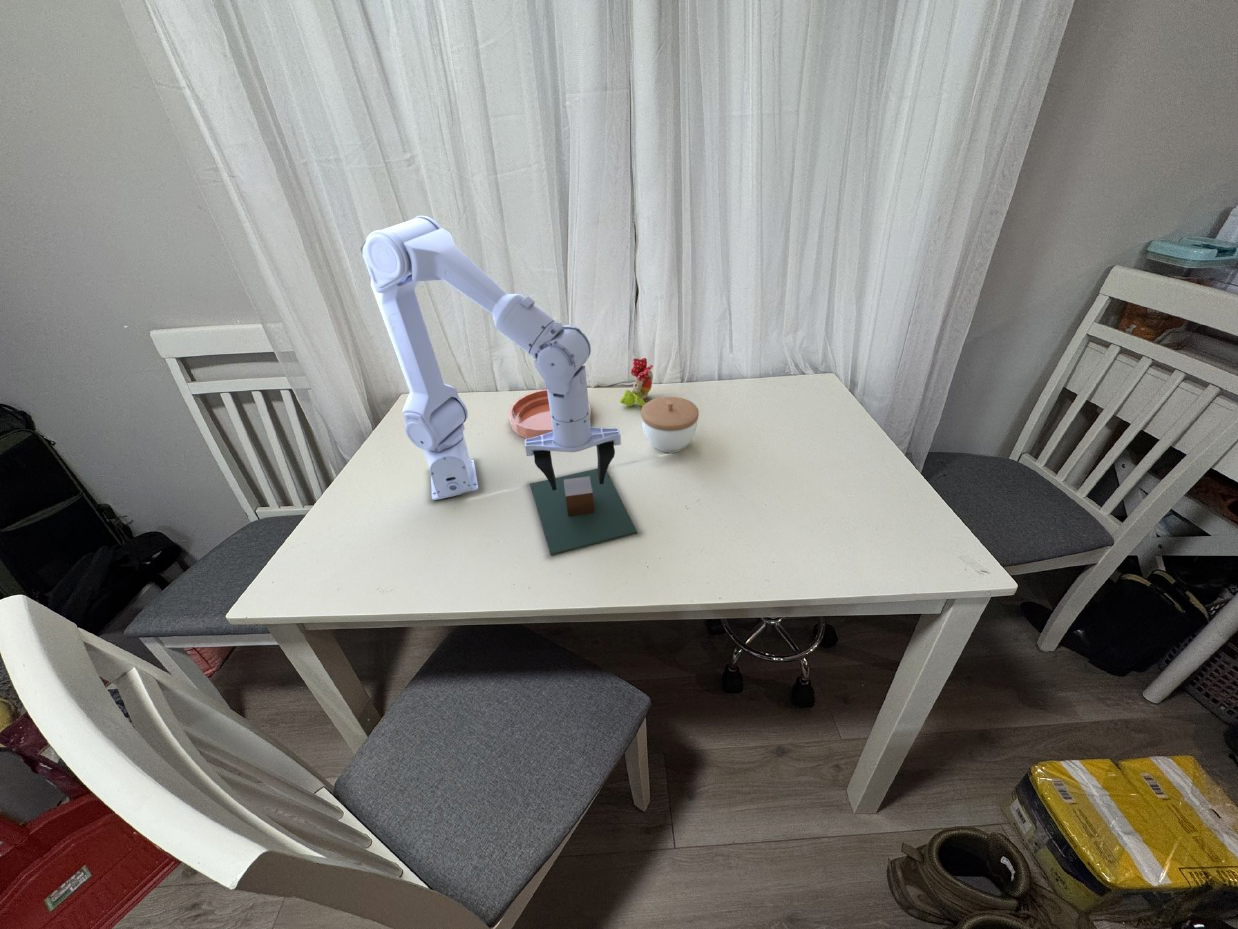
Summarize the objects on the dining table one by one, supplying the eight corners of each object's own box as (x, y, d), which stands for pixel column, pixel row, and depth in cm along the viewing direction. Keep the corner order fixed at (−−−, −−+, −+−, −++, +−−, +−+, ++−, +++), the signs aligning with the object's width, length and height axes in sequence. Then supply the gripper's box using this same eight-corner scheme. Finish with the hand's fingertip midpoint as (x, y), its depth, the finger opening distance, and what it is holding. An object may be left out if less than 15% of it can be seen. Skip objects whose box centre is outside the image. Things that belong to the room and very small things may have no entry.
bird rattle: (630, 403, 118) (615, 407, 110) (638, 355, 115) (622, 355, 107) (656, 409, 116) (642, 413, 108) (664, 359, 113) (650, 360, 105)
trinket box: (689, 464, 96) (692, 422, 90) (634, 455, 99) (633, 413, 93) (701, 433, 104) (704, 392, 98) (650, 426, 107) (650, 385, 101)
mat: (637, 533, 82) (637, 531, 82) (550, 555, 79) (550, 553, 79) (605, 468, 96) (604, 466, 96) (530, 485, 93) (530, 483, 92)
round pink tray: (600, 433, 105) (599, 420, 103) (518, 450, 101) (515, 437, 100) (579, 395, 118) (578, 383, 116) (506, 409, 114) (504, 396, 112)
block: (594, 513, 86) (592, 492, 83) (568, 516, 85) (565, 496, 82) (591, 496, 89) (589, 476, 86) (566, 499, 89) (563, 479, 86)
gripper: (614, 393, 80) (617, 463, 88) (520, 404, 78) (532, 474, 87) (621, 417, 74) (624, 489, 82) (520, 428, 73) (533, 501, 81)
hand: (577, 483), depth 84 cm, fingers open, 7 cm apart
